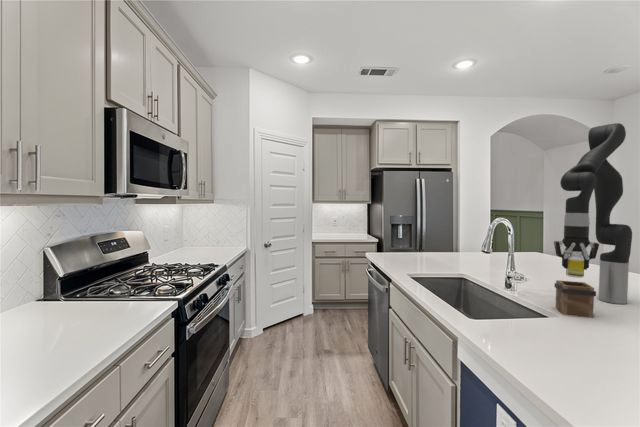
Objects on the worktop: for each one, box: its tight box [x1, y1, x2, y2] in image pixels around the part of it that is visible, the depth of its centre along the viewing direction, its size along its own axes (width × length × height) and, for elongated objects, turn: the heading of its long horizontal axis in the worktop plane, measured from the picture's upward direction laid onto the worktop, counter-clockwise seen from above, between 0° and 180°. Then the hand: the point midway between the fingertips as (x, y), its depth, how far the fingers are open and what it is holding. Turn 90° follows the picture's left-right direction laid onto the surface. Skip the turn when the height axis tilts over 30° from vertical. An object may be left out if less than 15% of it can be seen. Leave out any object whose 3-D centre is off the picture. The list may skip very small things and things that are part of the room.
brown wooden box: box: [554, 280, 597, 319], centre depth 126 cm, size 10×10×11 cm
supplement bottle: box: [565, 251, 585, 279], centre depth 125 cm, size 5×5×10 cm
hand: (574, 268), depth 125 cm, fingers closed on supplement bottle, 5 cm apart
